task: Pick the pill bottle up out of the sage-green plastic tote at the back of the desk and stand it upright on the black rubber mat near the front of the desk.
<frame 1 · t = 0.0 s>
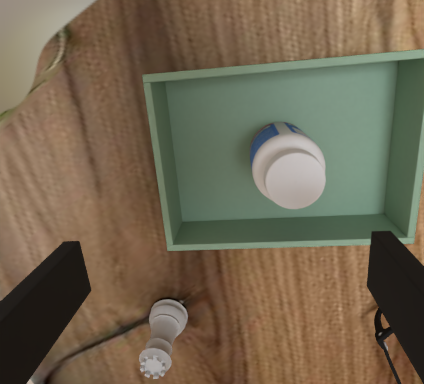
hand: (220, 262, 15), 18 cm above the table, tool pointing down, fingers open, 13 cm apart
pill bottle: (278, 149, 31), resting on tote
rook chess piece: (170, 311, 39), on the table
tote: (278, 148, 31), on the table
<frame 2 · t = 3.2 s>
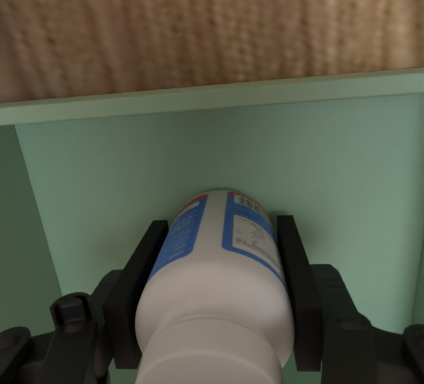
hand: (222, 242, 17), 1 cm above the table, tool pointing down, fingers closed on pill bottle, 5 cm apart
pill bottle: (224, 233, 18), resting on tote, touching gripper
tote: (224, 230, 18), on the table
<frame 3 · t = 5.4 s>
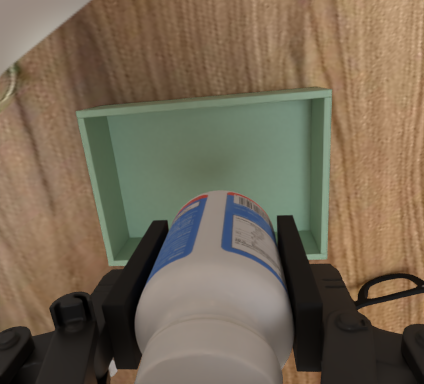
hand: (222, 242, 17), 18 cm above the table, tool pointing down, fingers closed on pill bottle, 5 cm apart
pill bottle: (223, 233, 18), point 17 cm above the table, touching gripper
tote: (212, 171, 35), on the table
glasses: (384, 336, 40), on the table
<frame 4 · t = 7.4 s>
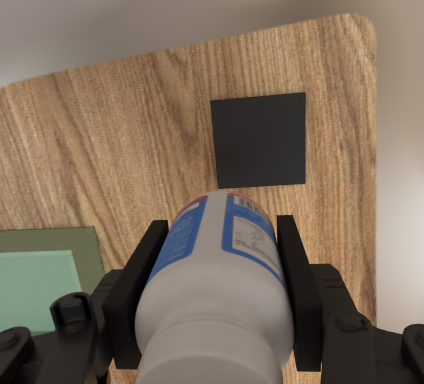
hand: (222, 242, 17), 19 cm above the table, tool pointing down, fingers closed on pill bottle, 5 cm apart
pill bottle: (223, 234, 18), point 18 cm above the table, touching gripper
tote: (27, 284, 42), on the table
mat: (259, 142, 33), on the table
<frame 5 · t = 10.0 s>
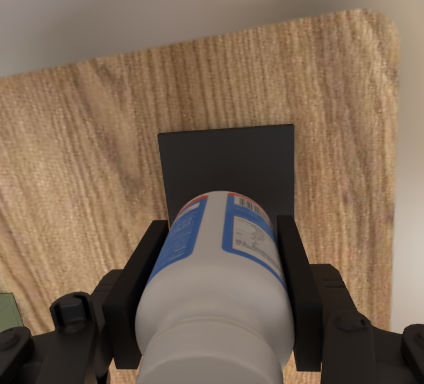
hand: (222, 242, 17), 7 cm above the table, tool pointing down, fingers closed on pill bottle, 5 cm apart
pill bottle: (224, 234, 18), point 6 cm above the table, touching gripper
mat: (229, 191, 24), on the table
when the fingers open (1 cm above the table, at t = 11.8 s): pill bottle stays where it is, resting on mat.
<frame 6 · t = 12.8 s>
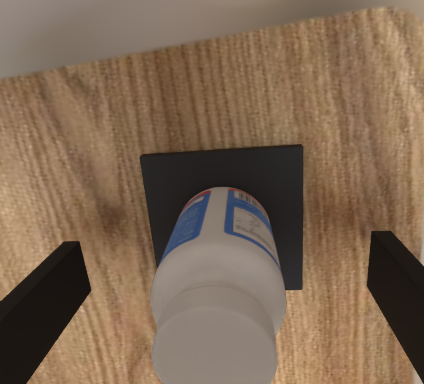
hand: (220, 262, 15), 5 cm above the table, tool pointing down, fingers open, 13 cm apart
pill bottle: (225, 226, 20), resting on mat
mat: (225, 222, 20), on the table
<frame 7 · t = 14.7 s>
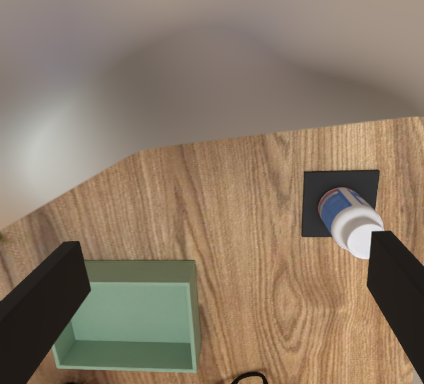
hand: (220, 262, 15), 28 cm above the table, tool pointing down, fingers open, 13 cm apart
pill bottle: (338, 205, 43), resting on mat
tote: (130, 303, 51), on the table
mat: (338, 203, 43), on the table
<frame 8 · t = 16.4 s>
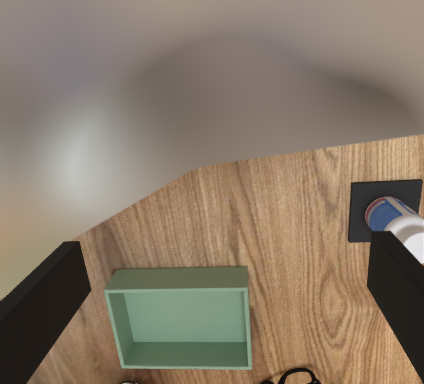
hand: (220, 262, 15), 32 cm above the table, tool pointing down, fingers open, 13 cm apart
pill bottle: (383, 213, 46), resting on mat
tote: (185, 306, 55), on the table
mat: (382, 211, 46), on the table
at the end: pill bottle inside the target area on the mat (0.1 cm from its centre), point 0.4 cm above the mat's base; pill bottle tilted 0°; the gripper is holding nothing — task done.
